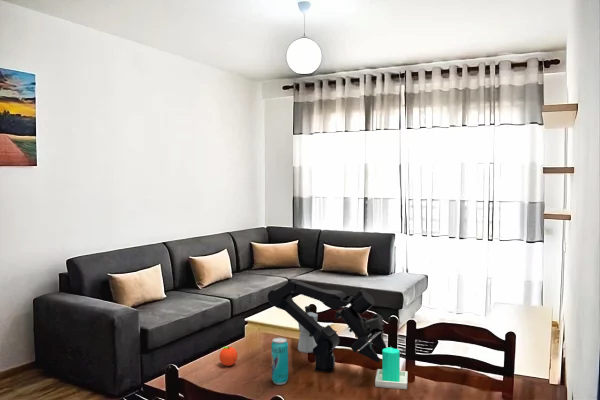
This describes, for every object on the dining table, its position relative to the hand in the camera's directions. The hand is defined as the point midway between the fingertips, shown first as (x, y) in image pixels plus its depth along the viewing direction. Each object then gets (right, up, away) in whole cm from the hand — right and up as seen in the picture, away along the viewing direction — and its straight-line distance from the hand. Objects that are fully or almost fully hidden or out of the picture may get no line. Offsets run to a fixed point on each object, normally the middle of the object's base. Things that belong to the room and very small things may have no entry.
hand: (383, 357), depth 170 cm
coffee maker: (-26, -7, +31) cm, 41 cm away
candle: (+2, -8, -1) cm, 8 cm away
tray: (+3, -8, -1) cm, 9 cm away
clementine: (-57, -8, +16) cm, 60 cm away
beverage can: (-36, -9, -1) cm, 37 cm away
